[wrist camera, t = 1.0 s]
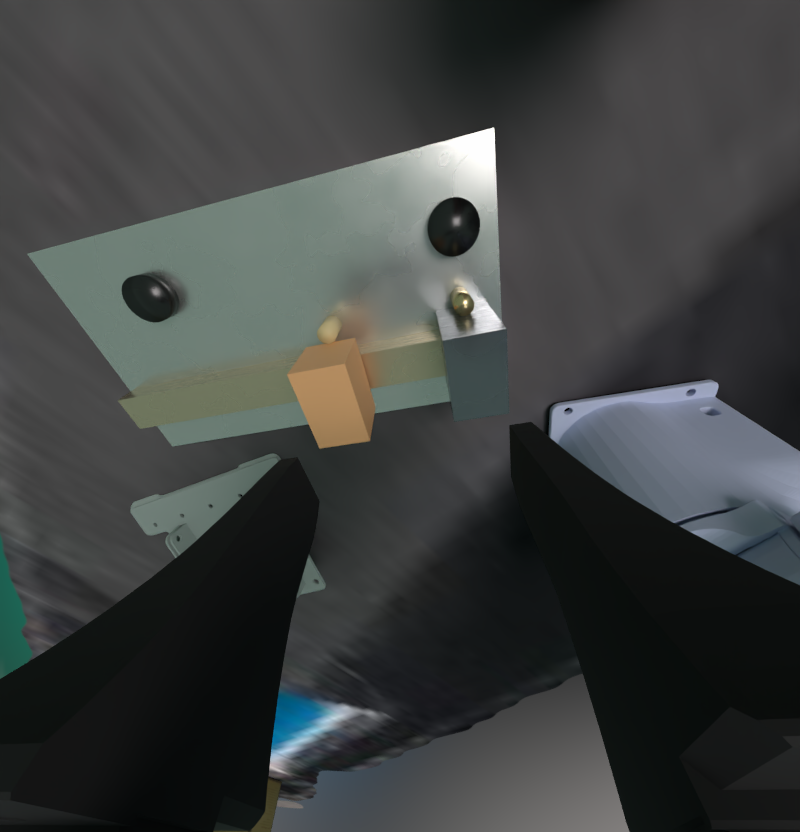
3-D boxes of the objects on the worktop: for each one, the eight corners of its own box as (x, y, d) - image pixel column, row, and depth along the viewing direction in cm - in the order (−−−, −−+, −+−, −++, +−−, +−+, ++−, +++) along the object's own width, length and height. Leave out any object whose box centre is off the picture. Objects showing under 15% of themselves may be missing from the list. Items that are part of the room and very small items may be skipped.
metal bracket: (345, 610, 25) (197, 641, 29) (363, 556, 31) (237, 588, 34) (254, 449, 22) (100, 508, 25) (293, 421, 27) (161, 472, 31)
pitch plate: (487, 133, 14) (527, 98, 9) (499, 382, 20) (526, 436, 16) (50, 250, 17) (-87, 270, 12) (182, 435, 23) (126, 494, 18)
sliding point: (354, 310, 16) (337, 342, 13) (377, 394, 19) (370, 441, 15) (307, 320, 17) (278, 354, 13) (336, 401, 19) (319, 448, 16)
